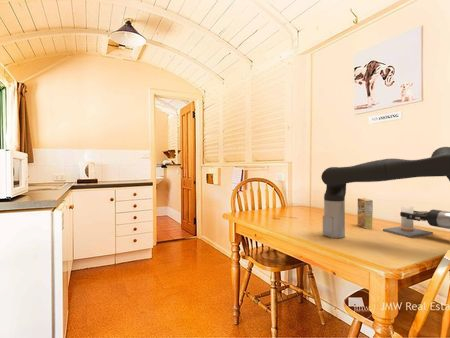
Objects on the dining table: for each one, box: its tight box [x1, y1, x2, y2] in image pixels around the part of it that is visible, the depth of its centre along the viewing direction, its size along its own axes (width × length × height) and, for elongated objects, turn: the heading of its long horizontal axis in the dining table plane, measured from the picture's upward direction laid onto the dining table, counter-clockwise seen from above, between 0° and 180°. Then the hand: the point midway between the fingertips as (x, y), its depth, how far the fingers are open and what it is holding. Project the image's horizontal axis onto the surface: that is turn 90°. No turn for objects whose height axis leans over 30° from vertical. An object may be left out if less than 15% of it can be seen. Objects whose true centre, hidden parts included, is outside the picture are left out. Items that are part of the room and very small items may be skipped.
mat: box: [382, 225, 434, 239], centre depth 132 cm, size 16×14×1 cm
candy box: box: [357, 197, 374, 230], centre depth 145 cm, size 9×4×15 cm, turn 0°
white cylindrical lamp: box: [400, 205, 415, 232], centre depth 132 cm, size 5×5×12 cm
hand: (406, 213), depth 133 cm, fingers open, 8 cm apart
